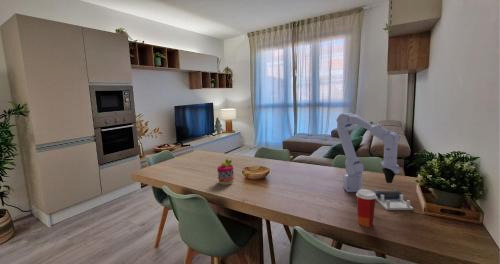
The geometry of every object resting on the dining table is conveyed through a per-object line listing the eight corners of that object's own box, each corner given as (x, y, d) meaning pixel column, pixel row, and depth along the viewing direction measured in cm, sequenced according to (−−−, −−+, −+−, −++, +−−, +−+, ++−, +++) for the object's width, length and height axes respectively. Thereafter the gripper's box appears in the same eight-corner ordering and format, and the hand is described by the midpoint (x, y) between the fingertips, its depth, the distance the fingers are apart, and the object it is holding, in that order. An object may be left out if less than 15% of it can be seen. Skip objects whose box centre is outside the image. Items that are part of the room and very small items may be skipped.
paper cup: (369, 218, 106) (370, 188, 103) (379, 227, 98) (380, 195, 96) (351, 219, 105) (352, 189, 103) (360, 228, 98) (361, 196, 96)
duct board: (386, 210, 112) (386, 202, 111) (372, 196, 127) (372, 189, 126) (413, 209, 111) (413, 201, 110) (396, 196, 126) (396, 188, 125)
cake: (230, 186, 150) (229, 163, 148) (215, 185, 154) (213, 162, 151) (236, 180, 160) (235, 158, 157) (222, 179, 163) (220, 158, 161)
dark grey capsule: (377, 199, 120) (378, 192, 120) (374, 196, 124) (375, 189, 123) (402, 199, 119) (403, 192, 119) (398, 196, 123) (399, 189, 122)
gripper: (407, 160, 111) (405, 188, 113) (391, 152, 125) (390, 177, 127) (391, 160, 111) (389, 188, 114) (377, 153, 126) (376, 177, 128)
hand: (389, 182), depth 120 cm, fingers closed
